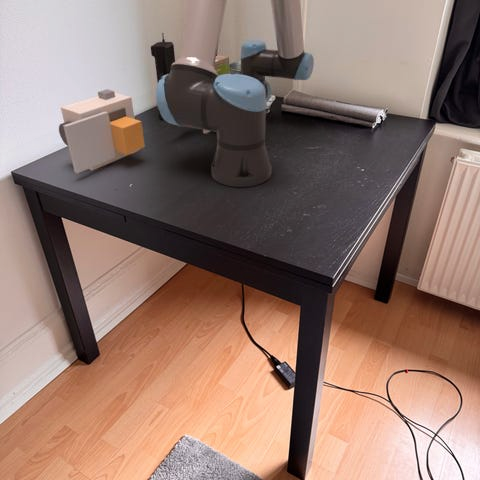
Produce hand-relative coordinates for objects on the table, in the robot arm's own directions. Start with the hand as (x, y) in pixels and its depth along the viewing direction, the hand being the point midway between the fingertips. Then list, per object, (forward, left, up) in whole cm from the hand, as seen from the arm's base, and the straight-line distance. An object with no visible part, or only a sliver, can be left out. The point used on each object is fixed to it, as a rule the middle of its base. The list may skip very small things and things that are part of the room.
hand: (185, 123), depth 124 cm
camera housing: (+14, +18, -8) cm, 24 cm away
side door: (+6, +21, -5) cm, 23 cm away
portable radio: (+22, -15, -8) cm, 28 cm away
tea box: (+26, -37, -8) cm, 46 cm away
